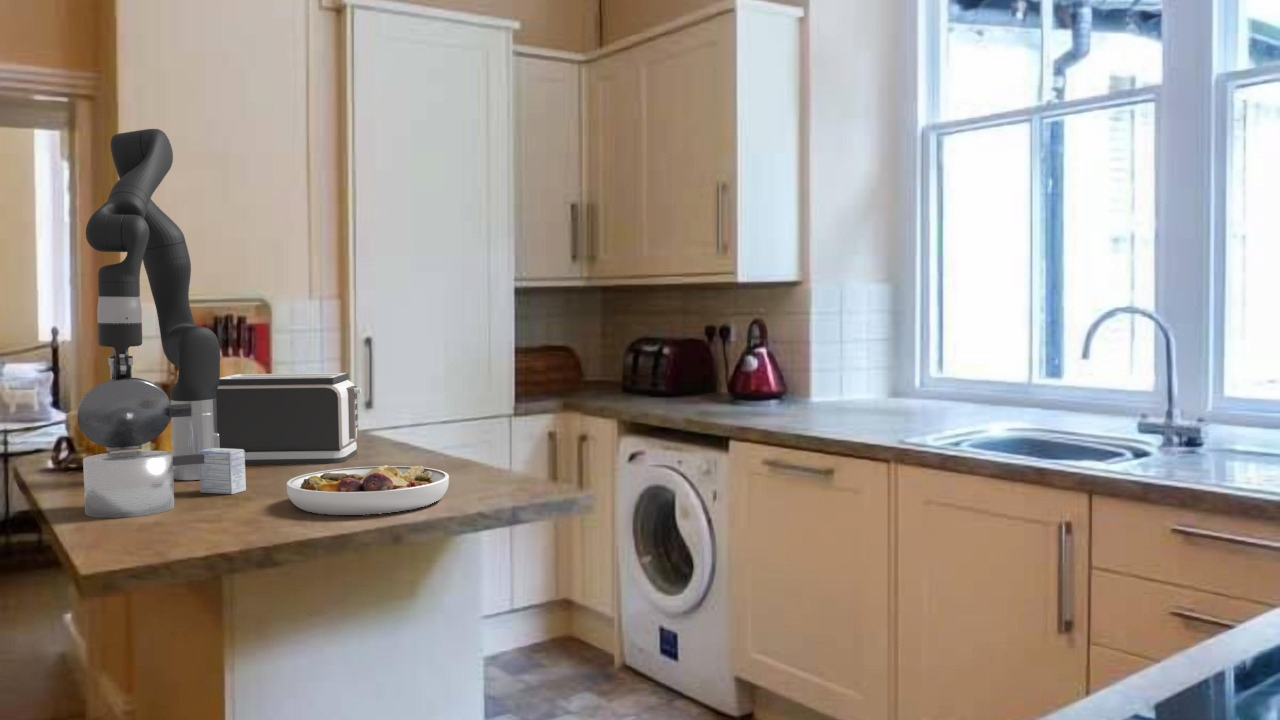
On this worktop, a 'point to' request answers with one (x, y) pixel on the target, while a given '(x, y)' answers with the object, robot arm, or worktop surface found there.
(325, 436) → the toaster
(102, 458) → the cooker pot
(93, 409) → the lid
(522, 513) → the worktop surface
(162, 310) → the robot arm
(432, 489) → the bowl
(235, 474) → the medicine box
